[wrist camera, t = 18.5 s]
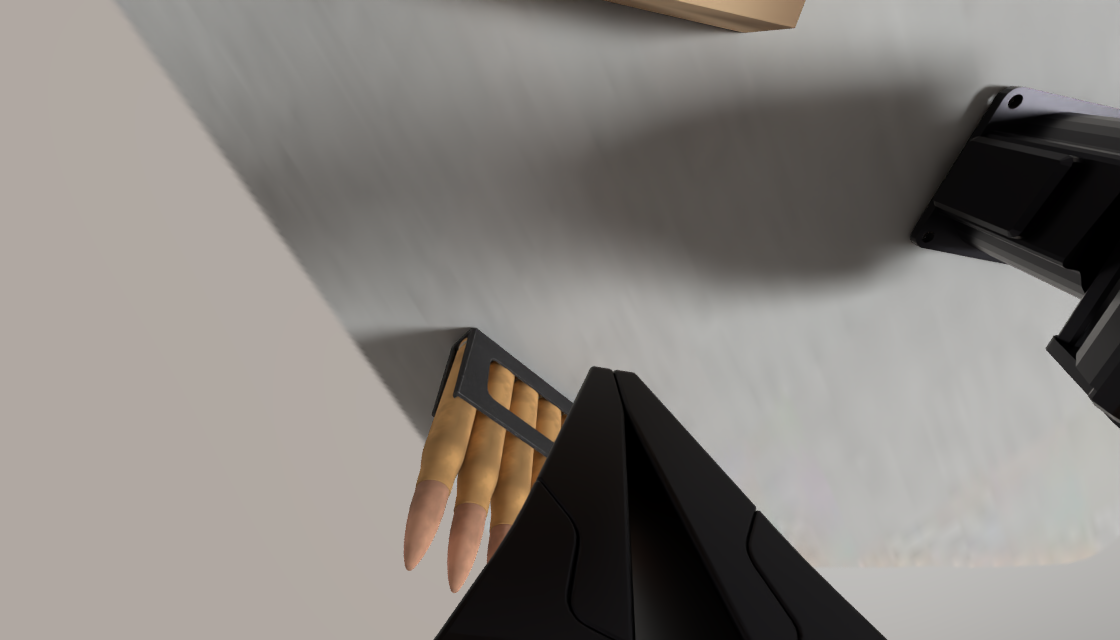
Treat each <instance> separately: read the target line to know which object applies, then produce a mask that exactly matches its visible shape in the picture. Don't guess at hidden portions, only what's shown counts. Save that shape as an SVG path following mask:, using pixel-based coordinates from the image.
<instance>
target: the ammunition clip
mask: <svg viewBox="0 0 1120 640" xmlns="http://www.w3.org/2000/svg"><path fill="white" fill-rule="evenodd" d="M572 405H573V403H572V402H571V401H570V400H568V399H567V398H566V397H564V396H563V395H562V394H561V393H559V392H558V391H557V390H555V389H554V388H553V387H552V386H550V385H549V384H548V383H546V382H545V381H544V380H543V379H541V378H540V377H539V376H537V375H536V374H535V373H534V372H532V371H531V370H530V369H528V368H527V367H526V366H525V365H523V364H522V363H521V362H519V361H518V360H517V359H516V358H514V357H513V356H512V355H510V354H509V353H508V352H507V351H505V350H504V349H503V348H501V347H500V346H499V345H498V344H496V343H495V342H494V341H492V340H491V339H490V338H489V337H487V336H486V335H485V334H483V333H482V332H481V331H480V330H478V329H477V328H472V329H470V330H469V331H468V332H467V333H466V334H465V335H464V336H463V337H462V338H461V339H460V340H459V341H458V342H457V343H456V344H455V345H454V346H452V348H451V352H450V355H449V359H448V362H447V365H446V369H445V372H444V375H443V379H442V382H441V385H440V389H439V392H438V396H437V399H436V402H435V406H434V409H433V412H432V416H433V417H434V420H433V423H432V426H431V429H430V431H429V434H428V437H427V440H426V443H425V446H424V449H423V453H422V460H421V469H420V473H419V476H418V480H417V483H416V488H415V493H414V496H413V499H412V502H411V505H410V510H409V514H408V519H407V524H406V530H405V539H404V540H405V541H404V562H405V567H406V569H407V570H408V571H411V570H412V569H414V567H415V566H416V565H417V564H418V563H419V562H420V560H421V559H422V558H423V556H424V554H425V553H426V551H427V549H428V548H429V546H430V544H431V542H432V540H433V538H434V536H435V534H436V532H437V529H438V527H439V524H440V522H441V519H442V517H443V514H444V510H445V507H446V503H447V500H448V497H449V495H450V493H451V489H452V486H453V483H454V480H455V478H456V476H457V474H458V478H457V497H456V502H455V508H454V516H453V521H452V525H451V530H450V537H449V545H448V560H447V565H448V580H449V585H450V589H451V591H452V592H453V593H456V592H458V591H459V589H460V588H461V586H462V585H463V584H464V582H465V580H466V578H467V577H468V574H469V572H470V570H471V568H472V565H473V563H474V561H475V558H476V555H477V552H478V548H479V545H480V541H481V538H482V534H483V530H484V525H485V520H486V517H487V513H488V509H489V504H490V500H491V522H490V531H489V532H490V537H489V544H488V553H487V563H488V562H489V560H490V559H491V557H492V556H493V554H494V553H495V551H496V550H497V548H498V546H499V545H500V543H501V542H502V540H503V539H504V537H505V536H506V534H507V532H508V531H509V529H510V528H511V526H512V525H513V523H514V521H515V519H516V517H517V515H518V514H519V512H520V510H521V508H522V506H523V504H524V502H525V501H526V499H527V497H528V495H529V492H530V490H531V488H532V486H533V484H534V482H536V479H537V477H538V475H539V473H540V471H541V468H542V466H543V464H544V462H545V460H546V458H547V456H548V454H549V452H550V450H551V448H552V446H553V444H554V442H555V440H556V438H557V436H558V434H559V432H560V429H561V427H562V425H563V423H564V421H565V419H566V417H567V415H568V413H569V411H570V409H571V407H572ZM458 472H459V473H458Z"/></svg>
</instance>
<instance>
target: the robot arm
mask: <svg viewBox="0 0 1120 640" xmlns="http://www.w3.org/2000/svg"><path fill="white" fill-rule="evenodd" d="M1013 96H1014V100H1013V102H1012V103H1011V104H1010V105H1009V106H1008V102H1009V100H1010V99H1011V98H1012V97H1013ZM927 232H928V235H927V236H926V237H925V238H923V239H922V237H923V236H924V234H925V233H927ZM910 240H911V241H912V243H914V244H915V245H917V246H919V247H921V248H926V249H932V250H937V251H942V252H947V253H952V254H957V255H963V256H968V257H973V258H978V259H983V260H988V261H993V262H999V263H1004V264H1009V265H1011V266H1013V267H1015V268H1017V269H1019V270H1021V271H1023V272H1025V273H1027V274H1030V275H1032V276H1034V277H1036V278H1038V279H1040V280H1042V281H1044V282H1046V283H1048V284H1050V285H1052V286H1054V287H1056V288H1058V289H1060V290H1062V291H1064V292H1067V293H1069V294H1071V295H1073V296H1075V297H1077V298H1079V299H1081V300H1080V302H1079V304H1078V305H1077V307H1076V308H1075V310H1074V311H1073V313H1072V314H1071V316H1070V318H1069V319H1068V321H1067V322H1066V324H1065V325H1064V327H1063V329H1062V330H1061V332H1060V333H1059V335H1055V336H1053V338H1052V339H1051V341H1050V342H1049V344H1048V346H1047V347H1046V350H1047V351H1048V352H1049V353H1050V355H1051V356H1052V357H1053V358H1054V359H1055V360H1056V361H1057V362H1058V363H1059V364H1060V365H1061V366H1062V368H1063V369H1064V370H1065V371H1066V372H1067V373H1068V374H1069V375H1070V376H1071V377H1072V378H1073V380H1074V381H1075V382H1076V383H1077V384H1078V385H1079V386H1080V387H1081V388H1082V389H1083V390H1084V391H1085V393H1086V394H1087V395H1088V397H1089V398H1090V400H1091V401H1092V402H1093V404H1094V405H1095V406H1096V407H1097V408H1099V409H1100V410H1101V411H1103V412H1104V413H1105V414H1106V415H1107V416H1108V418H1109V419H1110V420H1111V421H1112V422H1113V423H1114V424H1115V425H1117V426H1118V427H1119V428H1120V109H1117V108H1113V107H1109V106H1104V105H1100V104H1096V103H1091V102H1087V101H1083V100H1078V99H1074V98H1070V97H1065V96H1061V95H1057V94H1053V93H1048V92H1044V91H1040V90H1035V89H1031V88H1027V87H1018V86H1010V87H1008V88H1005V89H1004V90H1002V91H1001V92H1000V93H999V94H998V95H997V96H996V97H995V99H994V100H993V102H992V104H991V105H990V107H989V108H988V110H987V112H986V113H985V115H984V116H983V118H982V120H981V121H980V123H979V125H978V126H977V128H976V129H975V131H974V133H973V134H972V136H971V137H970V139H969V141H968V142H967V144H966V146H965V147H964V149H963V150H962V152H961V154H960V155H959V157H958V158H957V160H956V162H955V163H954V165H953V167H952V168H951V170H950V171H949V173H948V175H947V176H946V178H945V179H944V181H943V183H942V184H941V186H940V188H939V189H938V191H937V192H936V194H935V196H934V197H933V199H932V200H931V202H930V204H929V205H928V207H927V209H926V210H925V212H924V213H923V215H922V217H921V218H920V220H919V221H918V223H917V225H916V226H915V228H914V230H913V231H912V233H911V236H910ZM755 511H756V506H755V505H754V504H753V503H752V502H751V501H750V500H749V498H748V497H747V496H746V495H745V494H744V493H743V492H742V491H741V490H740V489H739V487H738V486H737V485H736V484H735V483H734V482H733V481H732V480H731V479H730V477H729V476H728V475H727V474H726V473H725V472H724V471H723V470H722V469H721V468H720V466H719V465H718V464H717V463H716V462H715V461H714V460H713V459H712V458H711V456H710V455H709V454H708V453H707V452H706V451H705V450H704V449H703V448H702V447H701V445H700V444H699V443H698V442H697V441H696V440H695V439H694V438H693V437H692V435H691V434H690V433H689V432H688V431H687V430H686V429H685V428H684V427H683V426H682V424H681V423H680V422H679V421H678V420H677V419H676V418H675V417H674V416H673V414H672V413H671V412H670V411H669V410H668V409H667V408H666V407H665V406H664V405H663V403H662V402H661V401H660V400H659V399H658V398H657V397H656V396H655V395H654V394H653V392H652V391H651V390H650V389H649V388H648V387H647V386H646V385H645V384H644V382H643V381H642V380H641V379H640V378H639V377H638V376H637V375H636V374H635V373H633V372H627V371H620V370H615V371H612V370H611V369H608V368H601V367H595V366H593V367H591V368H590V370H589V372H588V374H587V376H586V378H585V380H584V382H583V384H582V386H581V388H580V390H579V393H578V395H577V397H576V399H575V401H574V403H573V405H572V407H571V409H570V411H569V413H568V415H567V417H566V419H565V421H564V423H563V425H562V427H561V429H560V432H559V434H558V436H557V438H556V440H555V442H554V444H553V446H552V448H551V450H550V452H549V454H548V456H547V458H546V460H545V462H544V464H543V466H542V468H541V471H540V473H539V475H538V477H537V479H536V482H534V484H533V486H532V488H531V490H530V492H529V495H528V497H527V499H526V501H525V502H524V504H523V506H522V508H521V510H520V512H519V514H518V515H517V517H516V519H515V521H514V523H513V525H512V526H511V528H510V529H509V531H508V532H507V534H506V536H505V537H504V539H503V540H502V542H501V543H500V545H499V546H498V548H497V550H496V551H495V553H494V554H493V556H492V557H491V559H490V560H489V562H488V563H487V565H486V566H485V567H484V569H483V570H482V572H481V573H480V574H479V576H478V577H477V579H476V580H475V582H474V583H473V584H472V586H471V587H470V589H469V590H468V592H467V593H466V594H465V596H464V597H463V599H462V601H461V602H460V603H459V604H458V606H457V607H456V609H455V610H454V612H453V613H452V614H451V616H450V617H449V619H448V620H447V622H446V623H445V624H444V626H443V627H442V629H441V630H440V632H439V633H438V634H437V636H436V637H435V638H434V640H887V639H886V638H885V637H884V636H883V635H882V634H881V633H880V632H879V631H878V630H877V629H876V628H875V627H873V625H871V624H870V623H869V622H868V621H867V620H866V619H865V618H864V617H863V616H862V615H861V614H860V613H859V612H858V611H857V610H856V609H855V608H854V607H853V606H852V605H851V604H850V603H849V602H847V601H846V600H845V599H844V598H843V597H842V596H841V595H840V594H839V593H838V592H837V591H836V590H835V589H834V588H833V587H832V586H831V585H830V584H829V583H828V582H827V581H826V580H825V579H824V578H823V577H822V576H821V575H820V574H819V573H818V572H817V571H816V570H815V569H814V568H813V567H812V566H811V565H810V564H809V563H808V562H807V561H806V560H805V559H804V558H803V557H802V556H801V555H800V554H799V553H798V551H797V550H796V549H795V548H794V547H793V546H792V545H791V544H790V543H789V542H788V541H787V540H786V539H785V538H784V537H783V536H782V534H781V533H780V532H779V531H778V530H777V529H776V528H775V527H774V526H773V525H772V524H771V523H770V521H769V520H768V519H767V518H766V517H765V516H764V515H763V514H762V513H761V512H760V511H756V512H755Z"/></svg>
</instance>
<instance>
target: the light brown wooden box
mask: <svg viewBox="0 0 1120 640" xmlns="http://www.w3.org/2000/svg"><path fill="white" fill-rule="evenodd" d="M603 1H608V2H612V3H617V4H621V5H625V6H630V7H634V8H638V9H643V10H647V11H651V12H656V13H660V14H664V15H669V16H673V17H678V18H682V19H686V20H691V21H695V22H699V23H704V24H708V25H712V26H717V27H721V28H725V29H730V30H734V31H739V32H743V33H747V32H758V31H768V30H779V29H790V28H795V26H796V24H797V21H798V19H799V16H800V13H801V11H802V8H803V6H804V3H805V0H603Z"/></svg>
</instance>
